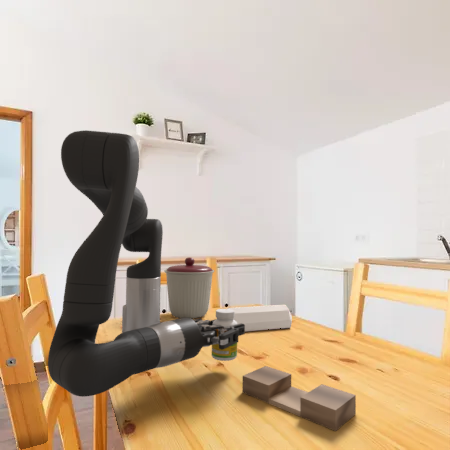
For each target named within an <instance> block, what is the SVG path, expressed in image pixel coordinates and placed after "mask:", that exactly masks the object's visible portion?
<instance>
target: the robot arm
mask: <svg viewBox="0 0 450 450" xmlns="http://www.w3.org/2000/svg"><path fill="white" fill-rule="evenodd" d="M60 148H61V149H60V160H61V164H62V169H63V172H64V173H65V176H66V177H67V179H68V180H69V182H70V184H72V186H73V187H74V188H75V189H77V190H78V191H79V192H80V193H82V195H84V196H85V197H86V198H87V199H89V200H90V201H91V202H92V203H93V204H94V206H96V208H97V209H98V210H99V211H100V213H102V217H101V218H100V220H99V222H98V223H97V224H96V225H95V227H94V229H93V230H92V231H91V232H90V234H89V235H88V236H87V237H86V238H85V240H84V241H83V242H82V243H81V245H80V246H79V248H78V249H77V250H76V251H75V253H74V255H73V257H72V258H71V260H70V263H69V266H68V269H67V273H66V278H65V286H64V293H63V302H62V311H61V315H60V317H59V320H58V323H57V325H56V328H55V331H54V334H53V337H52V339H51V343H50V347H49V350H48V357H47V370H48V374H49V376H50V378H51V380H52V381H53V382H54V383H55V384H57V385H58V386H59V387H61V388H63V389H64V390H66V391H67V392H68V393H70V394H72V395H74V396H76V397H77V396H78V397H82V398H83V397H84V398H85V397H92V396H96V395H100V394H102V393H105V392H107V391H109V390H111V389H113V388H114V387H116V386H118V385H119V384H121V383H123V382H124V381H126V380H127V379H129V378H130V377H132V376H134V375H137V374H138V375H139V374H142V373H144V372H147V371H151V370H155V369H159V368H165V367H168V366H172V365H174V364H178V363H181V362H185V361H186V360H190V359H193V358H195V357H197V355H199V353H200V352H201V350H202V348H206V347H207V348H208V347H210V346H212V345H214V344H219V349H225V348H227V347H229V346H231V345H233V344H235V343H237V344H238V343H239V337H240V336H243V335H244V334H245V332H246V331H245V325H244V324H242V323H241V324H237V325H233V326H227V327H223V326H222V325H212V324H213V322H214V321H215V320H216V319H217V318H215V319H211V320H210V319H206V320H203V318H194V319H193V318H192V319H191V318H187V317H186V318H177V319H171V320H167V321H162V322H161V285H162V283H161V281H162V280H161V279H162V278H161V276H162V271H161V270H162V269H161V267H162V245H163V233H164V232H163V224H162V221H161V220H160V219H157V218H148V213H149V211H148V210H149V209H148V206H147V202H146V200H145V198H144V195H143V193H142V192H141V191H140V189H139V188H138V187H137V184H138V183H137V182H138V176H139V170H140V150H139V146H138V143H137V140H136V139H135V138H134V137H133V135H130V134H126V133H120V132H119V133H118V132H108V131H97V130H76V131H73V132H70V133H69V134H68V135H66V137H65V138H64V140H63V142H62V144H61V147H60ZM122 246H123V248H124V249H125V250H126V251H128V252H132V253H149V254H148V257H147V258H145V259H144V260H142V261H140V262H138V263H135V264H132V265H129V266H128V267H127V268H126V273H125V275H126V278H125V279H126V283H125V304H124V305H122V311H121V313H122V320H121V333H120V334H118V335H117V336H115V338H114V339H113V340H112V341H107V342H102V343H96V337H97V334H98V331H99V327H100V325H102V324H105V323H106V322H108V320H109V319H110V317H111V315H112V311H113V310H112V309H113V305H114V304H113V302H114V295H115V287H116V286H115V285H116V276H117V270H118V269H117V268H118V262H119V257H120V253H121V252H120V251H121V248H122ZM216 329H218V337H217V331H216ZM224 331H227V332H224Z"/></svg>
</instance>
